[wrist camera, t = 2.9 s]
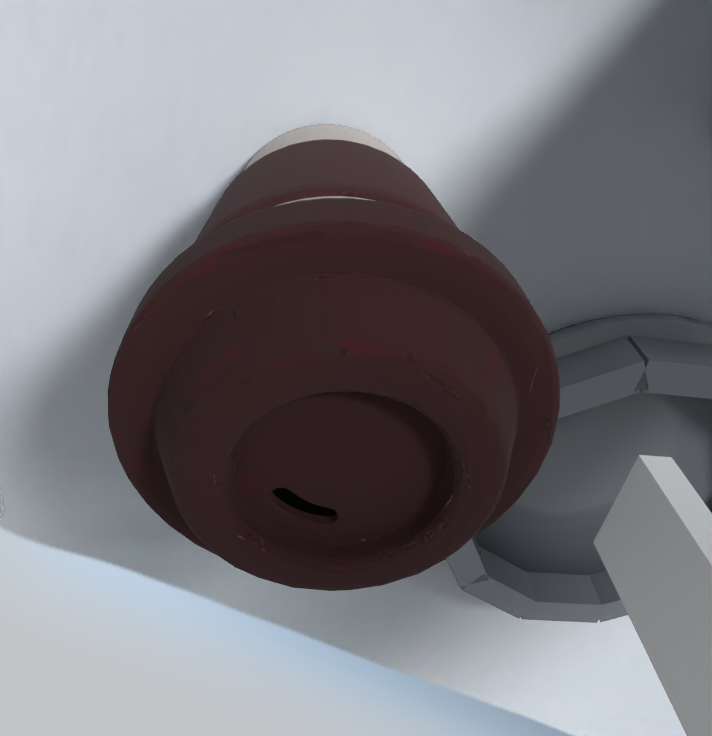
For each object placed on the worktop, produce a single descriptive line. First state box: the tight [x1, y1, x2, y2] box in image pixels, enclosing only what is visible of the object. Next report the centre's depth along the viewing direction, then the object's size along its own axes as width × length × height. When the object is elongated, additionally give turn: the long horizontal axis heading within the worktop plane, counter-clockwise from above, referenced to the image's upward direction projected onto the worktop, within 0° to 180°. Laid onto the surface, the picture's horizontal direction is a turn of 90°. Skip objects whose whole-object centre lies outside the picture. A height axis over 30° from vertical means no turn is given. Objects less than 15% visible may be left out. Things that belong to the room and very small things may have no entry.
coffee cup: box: [108, 124, 560, 591], centre depth 19 cm, size 10×10×15 cm
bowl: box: [446, 314, 712, 623], centre depth 33 cm, size 19×19×3 cm
